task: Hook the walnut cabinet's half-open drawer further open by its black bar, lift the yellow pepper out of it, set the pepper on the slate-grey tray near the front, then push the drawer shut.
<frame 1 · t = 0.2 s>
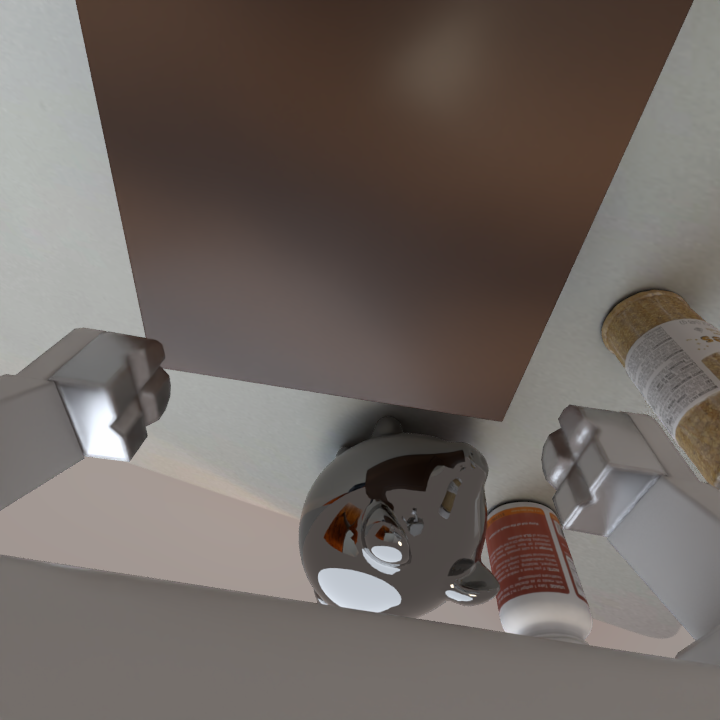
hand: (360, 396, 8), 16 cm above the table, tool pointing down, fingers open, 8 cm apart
piggy bank: (394, 450, 32), on the table
pill bottle: (519, 518, 36), on the table
sprinkles bottle: (638, 320, 24), on the table
cabinet: (366, 166, 21), on the table
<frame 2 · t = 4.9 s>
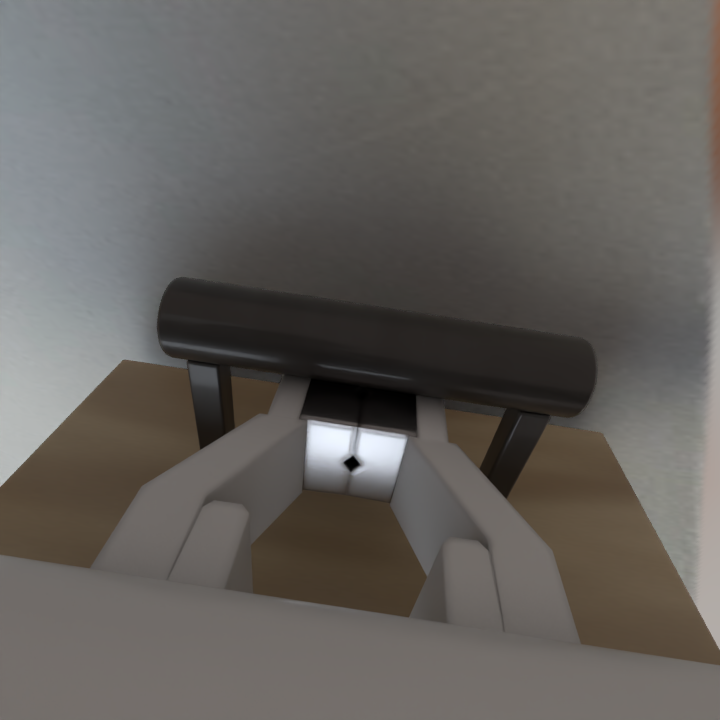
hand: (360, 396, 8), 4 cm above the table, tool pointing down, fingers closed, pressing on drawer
drawer: (332, 591, 12), point 4 cm above the table, slide at 8.4 cm, touching gripper, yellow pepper
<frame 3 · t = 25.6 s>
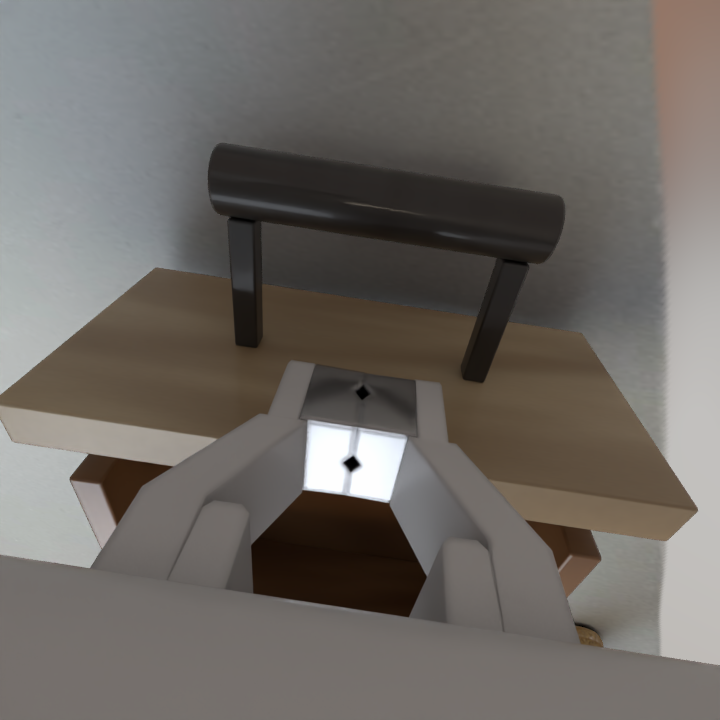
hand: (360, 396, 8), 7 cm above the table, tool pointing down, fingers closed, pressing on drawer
sprinkles bottle: (563, 633, 29), on the table
drawer: (342, 475, 14), point 4 cm above the table, slide at 9.0 cm, touching gripper
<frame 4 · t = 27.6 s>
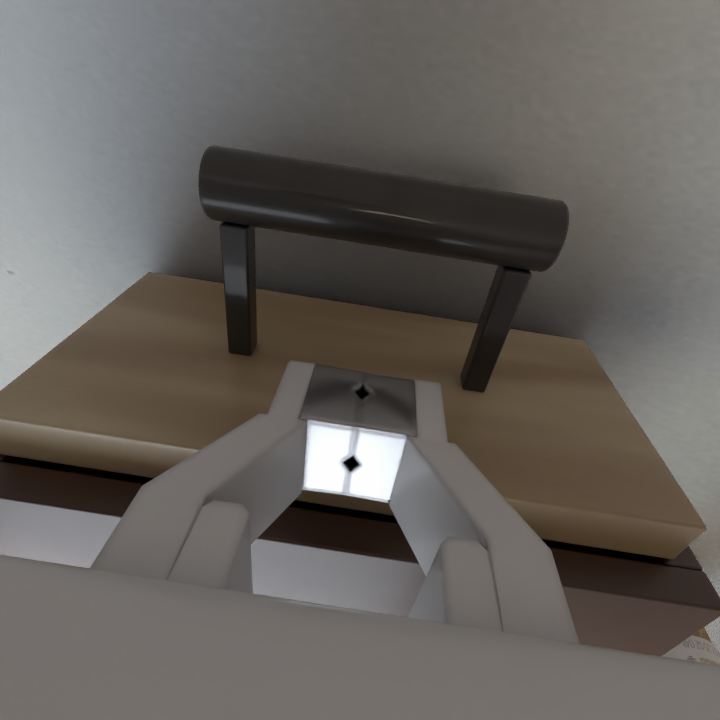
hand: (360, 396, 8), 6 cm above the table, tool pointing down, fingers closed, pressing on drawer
sprinkles bottle: (630, 578, 23), on the table
drawer: (338, 484, 14), point 4 cm above the table, slide at 0.0 cm, touching cabinet, gripper
cabinet: (342, 464, 19), on the table
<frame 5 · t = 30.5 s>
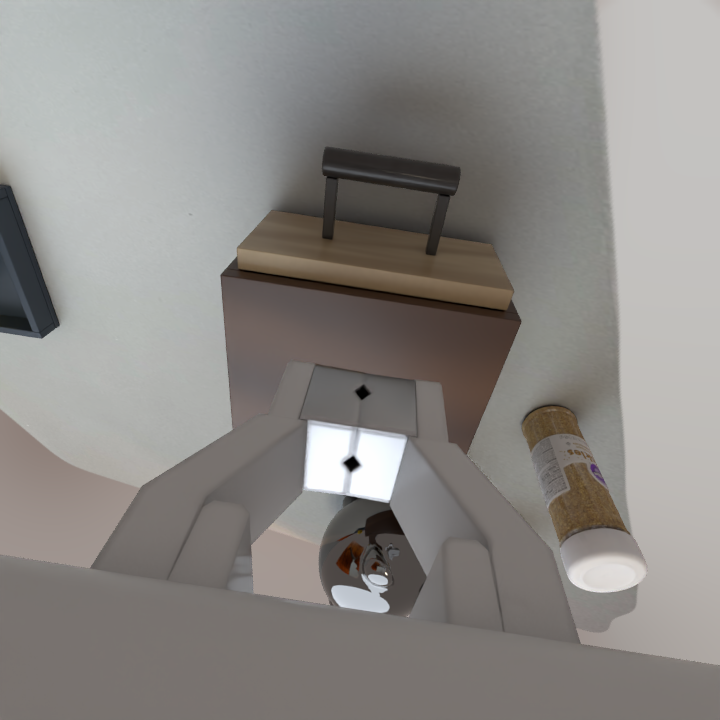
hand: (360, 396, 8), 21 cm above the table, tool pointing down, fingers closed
piggy bank: (385, 497, 44), on the table
sprinkles bottle: (546, 421, 36), on the table
drawer: (367, 318, 27), point 4 cm above the table, slide at 0.0 cm, touching cabinet
cabinet: (364, 336, 33), on the table
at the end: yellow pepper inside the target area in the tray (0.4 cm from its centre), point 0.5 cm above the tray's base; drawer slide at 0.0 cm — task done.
